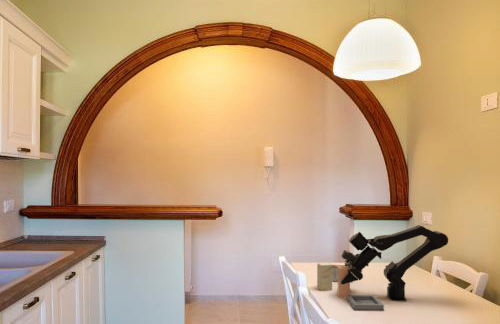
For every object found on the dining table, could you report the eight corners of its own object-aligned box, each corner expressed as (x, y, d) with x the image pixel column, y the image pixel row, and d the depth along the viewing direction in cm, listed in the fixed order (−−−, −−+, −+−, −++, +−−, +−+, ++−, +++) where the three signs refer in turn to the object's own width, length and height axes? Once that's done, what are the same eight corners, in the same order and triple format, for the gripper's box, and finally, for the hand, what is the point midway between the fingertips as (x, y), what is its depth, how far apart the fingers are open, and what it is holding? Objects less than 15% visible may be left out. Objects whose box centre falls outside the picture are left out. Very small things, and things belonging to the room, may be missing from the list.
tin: (353, 281, 185) (353, 265, 185) (354, 283, 181) (354, 266, 182) (324, 280, 186) (324, 264, 186) (325, 282, 183) (324, 265, 183)
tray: (374, 300, 156) (374, 295, 156) (383, 310, 144) (383, 305, 144) (346, 300, 156) (346, 294, 156) (354, 310, 144) (354, 304, 144)
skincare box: (321, 291, 168) (320, 265, 168) (316, 288, 172) (316, 263, 173) (332, 290, 170) (332, 264, 170) (328, 287, 174) (328, 262, 174)
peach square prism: (348, 294, 164) (348, 265, 164) (349, 297, 159) (349, 268, 160) (337, 293, 165) (337, 265, 165) (338, 297, 160) (338, 268, 160)
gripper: (349, 241, 171) (326, 263, 173) (354, 248, 153) (329, 273, 154) (366, 258, 170) (343, 280, 171) (373, 267, 151) (347, 292, 153)
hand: (340, 280), depth 162 cm, fingers open, 8 cm apart
